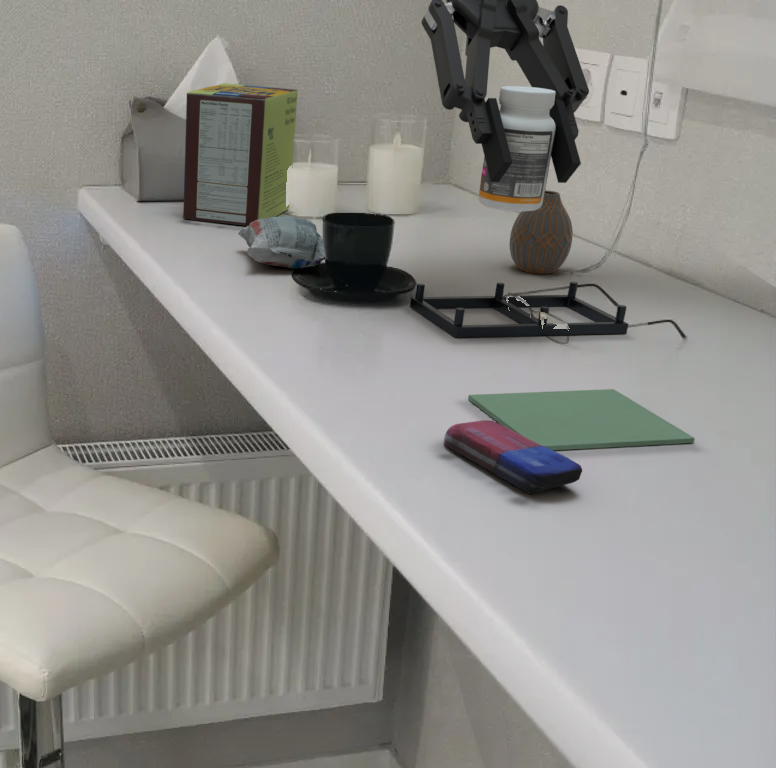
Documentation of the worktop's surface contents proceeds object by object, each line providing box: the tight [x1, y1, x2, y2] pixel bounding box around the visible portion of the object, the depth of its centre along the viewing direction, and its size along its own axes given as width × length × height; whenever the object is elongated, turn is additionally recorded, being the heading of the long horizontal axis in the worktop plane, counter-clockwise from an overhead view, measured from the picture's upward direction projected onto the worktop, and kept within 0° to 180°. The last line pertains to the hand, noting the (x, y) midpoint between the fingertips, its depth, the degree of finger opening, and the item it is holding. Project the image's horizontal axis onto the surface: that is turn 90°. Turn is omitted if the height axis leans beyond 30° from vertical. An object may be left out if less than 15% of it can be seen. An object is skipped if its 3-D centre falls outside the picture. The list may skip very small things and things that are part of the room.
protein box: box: [182, 82, 298, 227], centre depth 152 cm, size 10×15×16 cm
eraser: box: [443, 420, 583, 495], centre depth 79 cm, size 11×4×2 cm, turn 26°
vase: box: [509, 189, 574, 275], centre depth 133 cm, size 7×7×9 cm
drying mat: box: [467, 388, 696, 451], centre depth 89 cm, size 13×11×1 cm
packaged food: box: [237, 215, 326, 270], centre depth 130 cm, size 9×12×5 cm
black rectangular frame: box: [409, 281, 629, 339], centre depth 114 cm, size 18×11×2 cm, turn 105°
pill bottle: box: [478, 85, 556, 212], centre depth 103 cm, size 6×6×10 cm
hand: (535, 172), depth 100 cm, fingers closed on pill bottle, 6 cm apart
